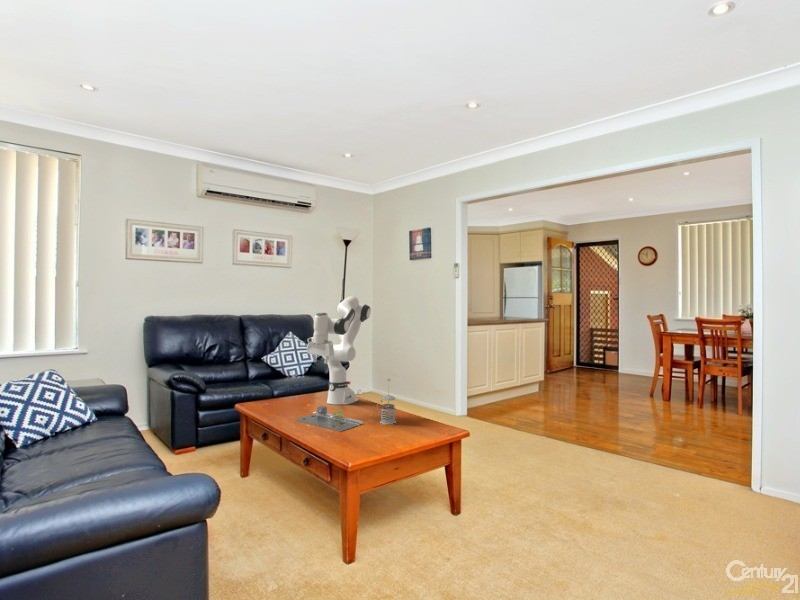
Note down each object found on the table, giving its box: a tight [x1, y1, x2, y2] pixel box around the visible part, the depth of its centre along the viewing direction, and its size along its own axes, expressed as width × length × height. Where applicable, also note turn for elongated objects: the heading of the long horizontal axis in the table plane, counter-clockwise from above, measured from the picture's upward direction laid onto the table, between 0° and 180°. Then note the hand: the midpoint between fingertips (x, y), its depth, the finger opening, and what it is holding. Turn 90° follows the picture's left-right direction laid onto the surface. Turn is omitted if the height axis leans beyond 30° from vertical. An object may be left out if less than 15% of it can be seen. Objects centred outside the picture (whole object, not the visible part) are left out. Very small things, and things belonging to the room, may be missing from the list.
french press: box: [376, 377, 397, 425], centre depth 262 cm, size 10×12×25 cm
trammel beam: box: [312, 405, 364, 426], centre depth 265 cm, size 9×34×5 cm, turn 53°
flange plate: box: [295, 413, 360, 433], centre depth 259 cm, size 14×36×1 cm, turn 53°
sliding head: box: [330, 408, 345, 418], centre depth 265 cm, size 9×4×4 cm, turn 143°
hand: (320, 362), depth 278 cm, fingers open, 8 cm apart
